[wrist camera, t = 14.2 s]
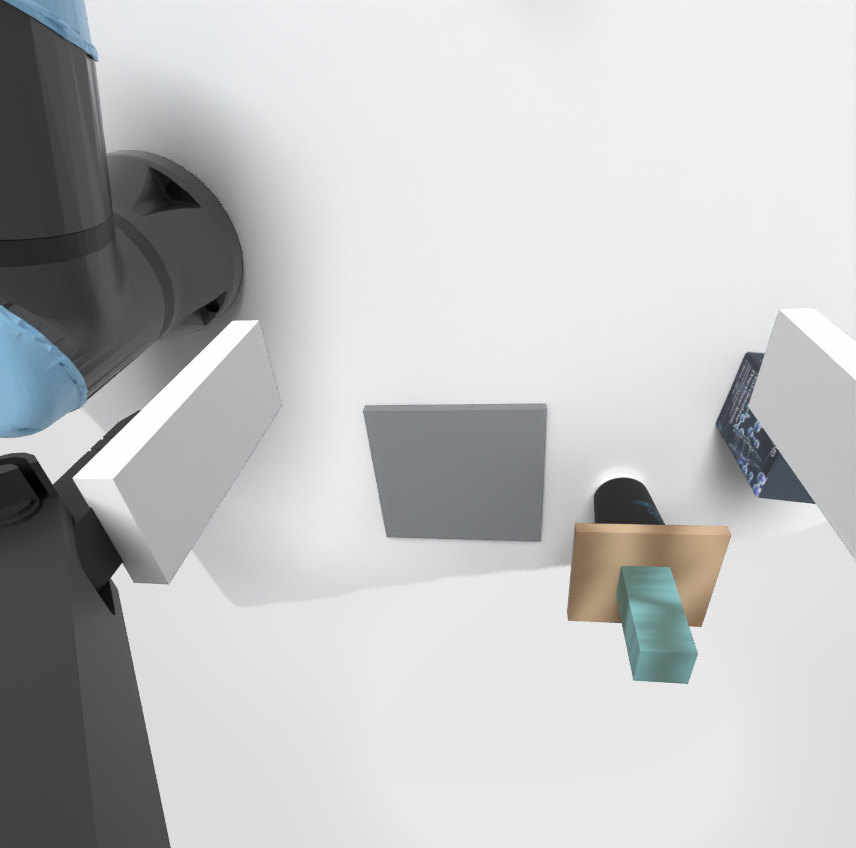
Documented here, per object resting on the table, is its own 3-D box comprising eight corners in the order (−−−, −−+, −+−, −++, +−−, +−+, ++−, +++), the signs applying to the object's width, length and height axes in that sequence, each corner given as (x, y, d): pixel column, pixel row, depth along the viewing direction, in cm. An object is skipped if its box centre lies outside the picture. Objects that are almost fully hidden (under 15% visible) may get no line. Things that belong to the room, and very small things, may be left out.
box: (743, 350, 46) (799, 418, 37) (812, 355, 45) (884, 426, 37) (713, 424, 50) (755, 500, 42) (774, 430, 50) (831, 508, 41)
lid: (567, 611, 52) (577, 703, 44) (575, 523, 45) (588, 614, 38) (698, 617, 50) (731, 714, 42) (726, 526, 43) (772, 622, 36)
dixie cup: (668, 465, 54) (701, 547, 45) (646, 520, 58) (672, 605, 49) (589, 457, 54) (605, 536, 45) (573, 512, 59) (586, 594, 50)
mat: (388, 530, 64) (386, 537, 63) (365, 405, 54) (363, 410, 53) (540, 534, 61) (540, 541, 61) (545, 403, 51) (546, 409, 50)
